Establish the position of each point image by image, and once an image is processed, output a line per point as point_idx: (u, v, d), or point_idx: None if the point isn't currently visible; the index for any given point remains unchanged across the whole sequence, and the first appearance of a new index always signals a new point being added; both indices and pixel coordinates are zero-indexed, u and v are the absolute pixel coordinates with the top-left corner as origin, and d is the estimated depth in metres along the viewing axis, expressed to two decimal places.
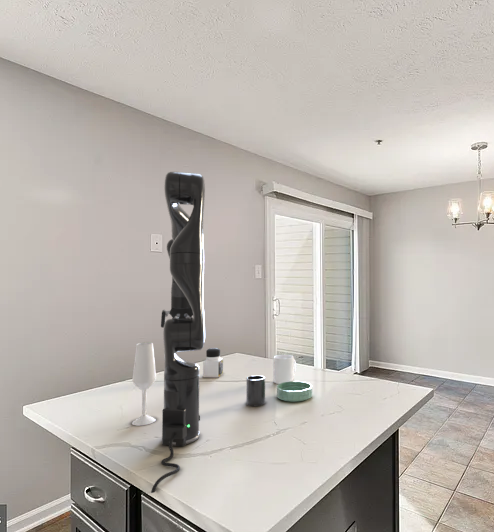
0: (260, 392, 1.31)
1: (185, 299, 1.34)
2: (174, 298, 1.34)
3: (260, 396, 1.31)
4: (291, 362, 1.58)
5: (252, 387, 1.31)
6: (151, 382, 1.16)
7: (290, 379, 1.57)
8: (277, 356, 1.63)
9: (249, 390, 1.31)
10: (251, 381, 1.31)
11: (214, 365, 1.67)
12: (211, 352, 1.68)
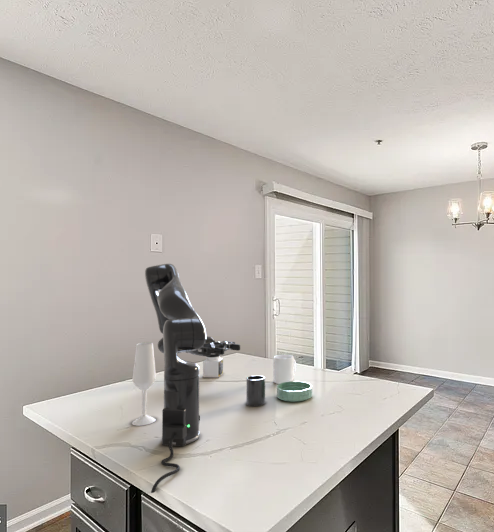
0: (260, 392, 1.31)
1: None
2: None
3: (260, 396, 1.31)
4: (291, 362, 1.58)
5: (252, 387, 1.31)
6: (151, 382, 1.16)
7: (290, 379, 1.57)
8: (277, 356, 1.63)
9: (249, 390, 1.31)
10: (251, 381, 1.31)
11: (214, 365, 1.67)
12: None
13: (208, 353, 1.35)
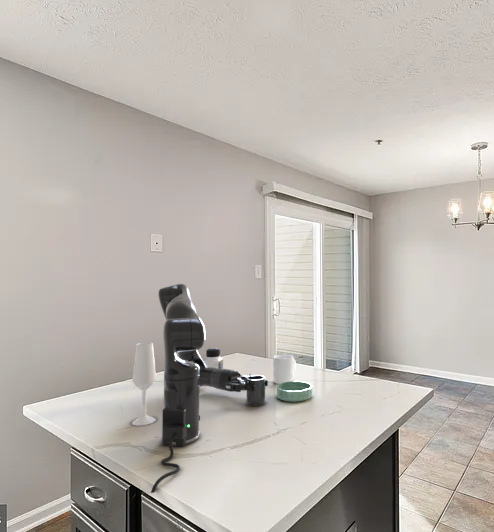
0: (260, 392, 1.31)
1: (229, 369, 1.41)
2: (222, 374, 1.38)
3: (260, 396, 1.31)
4: (291, 362, 1.58)
5: None
6: (151, 382, 1.16)
7: (290, 379, 1.57)
8: (277, 356, 1.63)
9: None
10: (251, 381, 1.31)
11: (214, 365, 1.67)
12: (211, 352, 1.68)
13: (239, 390, 1.29)
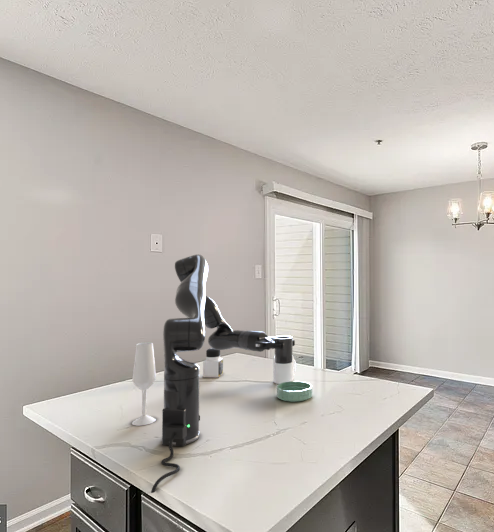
0: (288, 350, 1.37)
1: None
2: (250, 334, 1.43)
3: (288, 354, 1.37)
4: (291, 362, 1.58)
5: None
6: (151, 382, 1.16)
7: (290, 379, 1.57)
8: None
9: (278, 349, 1.36)
10: (280, 340, 1.36)
11: (214, 365, 1.67)
12: (211, 352, 1.68)
13: (268, 348, 1.35)
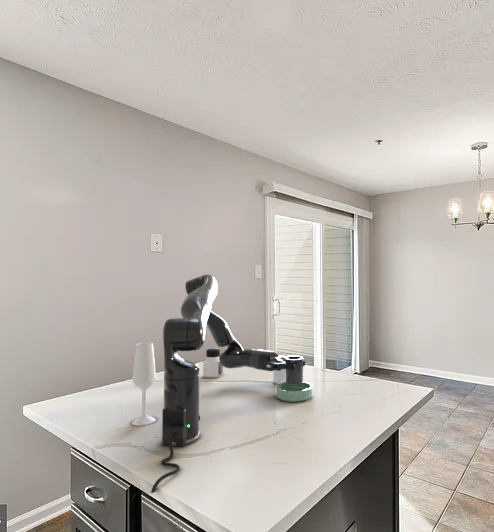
0: (299, 371, 1.38)
1: None
2: (261, 354, 1.45)
3: (299, 375, 1.38)
4: None
5: None
6: (151, 382, 1.16)
7: None
8: None
9: None
10: (291, 360, 1.38)
11: (214, 365, 1.67)
12: (211, 352, 1.68)
13: (279, 369, 1.37)
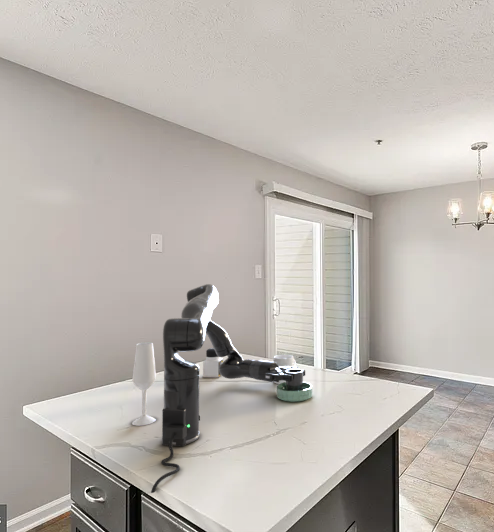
0: (299, 384, 1.38)
1: (267, 361, 1.48)
2: (261, 365, 1.45)
3: (299, 388, 1.38)
4: (291, 362, 1.58)
5: None
6: (151, 382, 1.16)
7: None
8: (277, 356, 1.63)
9: (289, 383, 1.38)
10: (291, 374, 1.38)
11: (214, 365, 1.67)
12: (211, 352, 1.68)
13: (277, 380, 1.36)
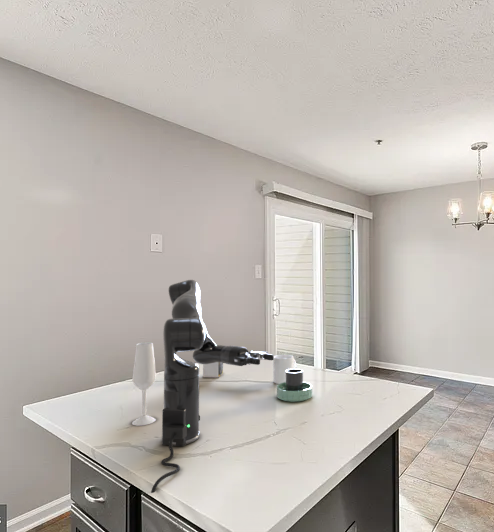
0: (299, 384, 1.38)
1: (238, 346, 1.54)
2: (231, 350, 1.51)
3: (299, 388, 1.38)
4: (291, 362, 1.58)
5: (292, 379, 1.38)
6: (151, 382, 1.16)
7: None
8: (277, 356, 1.63)
9: (289, 383, 1.38)
10: (291, 374, 1.38)
11: (214, 365, 1.67)
12: None
13: (245, 363, 1.42)
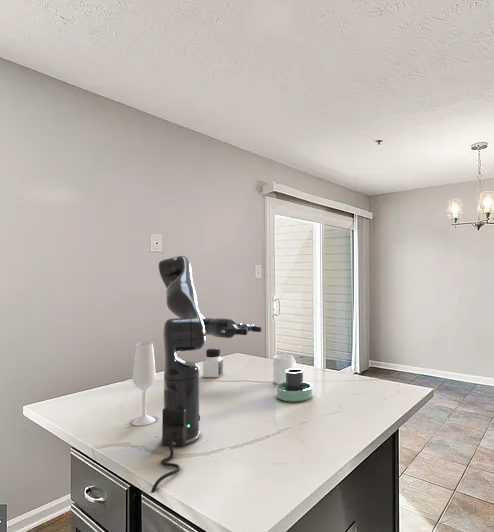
0: (299, 384, 1.38)
1: None
2: (219, 322, 1.50)
3: (299, 388, 1.38)
4: (291, 362, 1.58)
5: (292, 379, 1.38)
6: (151, 382, 1.16)
7: None
8: (277, 356, 1.63)
9: (289, 383, 1.38)
10: (291, 374, 1.38)
11: (214, 365, 1.67)
12: (211, 352, 1.68)
13: (232, 333, 1.41)
